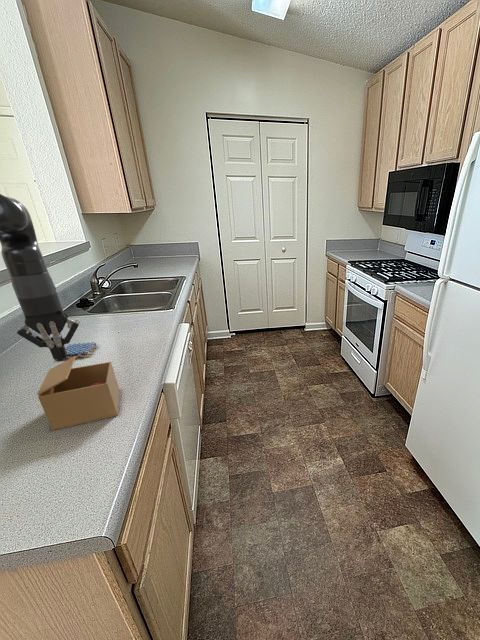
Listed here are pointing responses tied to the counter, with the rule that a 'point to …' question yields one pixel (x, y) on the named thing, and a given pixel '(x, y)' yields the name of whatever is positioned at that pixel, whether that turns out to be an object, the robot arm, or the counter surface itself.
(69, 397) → the carton
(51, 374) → the flap
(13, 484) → the counter surface
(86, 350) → the woven mat
